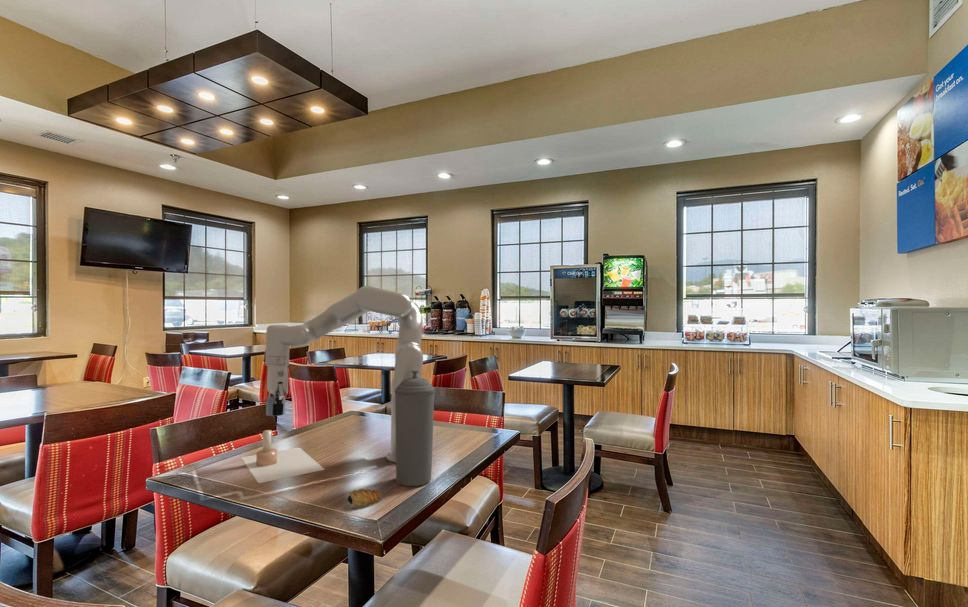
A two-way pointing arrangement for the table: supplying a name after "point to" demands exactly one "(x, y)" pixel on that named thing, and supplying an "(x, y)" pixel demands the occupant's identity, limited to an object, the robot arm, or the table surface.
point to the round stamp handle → (266, 451)
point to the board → (283, 465)
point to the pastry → (363, 498)
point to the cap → (270, 405)
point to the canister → (414, 430)
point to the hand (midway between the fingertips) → (275, 412)
